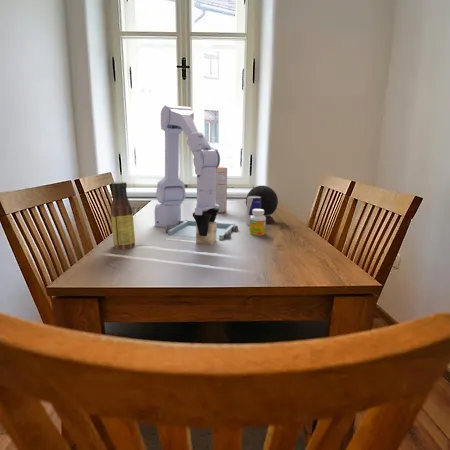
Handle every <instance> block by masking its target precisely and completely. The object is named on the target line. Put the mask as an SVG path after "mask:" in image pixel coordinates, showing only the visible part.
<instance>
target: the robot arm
mask: <svg viewBox="0 0 450 450" xmlns="http://www.w3.org/2000/svg"><path fill="white" fill-rule="evenodd" d="M194 115H195V114H194V110H193V108H192V107H190V106H175V105H168V104H165V105H163V107H162V108H161V111H160V129H161V130H162V131H163V132H164V177H163V178H162V179H160V180H159V181H158V182H157V187H156V190H155V196H156V200H157V202H158V203H156V204H155V205H154V227H159V228H160V227H161V228H162V227H163V228H167V227H169V226H177V225H178V222H179V221H182V211H181V210H182V204H183V202H184V201H185V199H186V196H187V195H186V194H187V193H186V188H185V182H184V181H183V180H181V178H179V165H180V164H179V160H180V158H179V157H180V156H179V155H180V149H179V148H180V144H179V143H180V135H181V133H182V132H184V134H185V135H186V137H187V140H186V144H187V146H188V148H189V150H190V152H191V153H192V155H193V158H192V161H193V162H192V163H193V166H194V173H195V175H196V204H195V208H194V211H193V212H192V218H193V220H195V221H196V224H197V227H198V231H199V235H200V236H207V232H208V225H209V222H216V221H215V220H216V219H217V215H218V214H219V213H218V212H219V209H216V208H218V207H219V205H217V204H216V168H218V167H219V166H220V163H221V156H220V152H219V151H218V149H216V148H214V147H211V146H210V144H209V142H208V141H207V138H206V136H205V135H204V133H202V132H199V131H198V129H197V127H196V124H195V122H194Z"/></svg>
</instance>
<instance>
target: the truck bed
mask: <svg viewBox="0 0 450 450" xmlns="http://www.w3.org/2000/svg"><path fill="white" fill-rule="evenodd" d="M216 222H217V221H216ZM238 230H239V226H238V225H236V223H232V222H231V223H230V222H219V221H218V222H217V231H216V241H219V240H220V241H223V240H230V239H231V237H232V232H233V233H236V232H237V231H238ZM165 234H167V235H168V236H177V237H178V236H179V237H188V238H196V221H195V219H193V220H191V219H185V220H181V221H179V222H178V225H174V227H172V226H166V228H165Z"/></svg>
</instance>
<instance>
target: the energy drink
mask: <svg viewBox="0 0 450 450" xmlns="http://www.w3.org/2000/svg"><path fill="white" fill-rule="evenodd" d="M253 209H261V197H259V196H248V198H247V206H246V218H245V220H246V221H245V222H246V223H245V224H246V225H247V226H249V227H250V217H251V216H252V215H253V214H252V211H253Z"/></svg>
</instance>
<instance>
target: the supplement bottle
mask: <svg viewBox="0 0 450 450" xmlns="http://www.w3.org/2000/svg"><path fill="white" fill-rule="evenodd" d="M252 214H253V215H252V216H251V217H250V226H249V234H250V235H251V236H259V237H260V236H264V235H266V225H267V224H266V217H265V216H263V214H264V210H263V209H253V211H252Z"/></svg>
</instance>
